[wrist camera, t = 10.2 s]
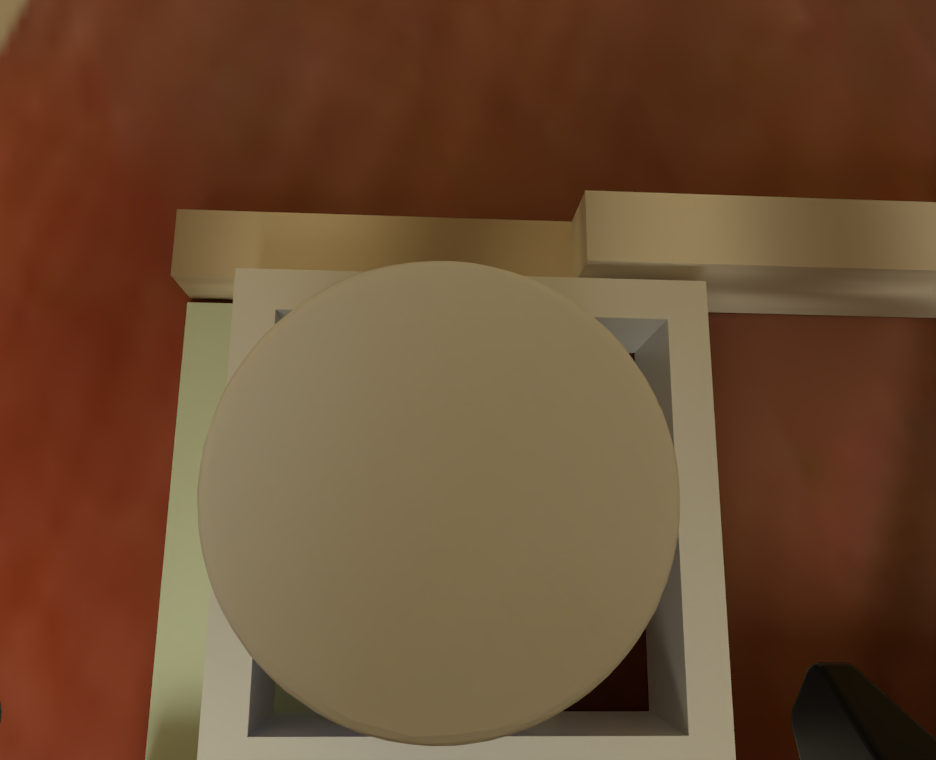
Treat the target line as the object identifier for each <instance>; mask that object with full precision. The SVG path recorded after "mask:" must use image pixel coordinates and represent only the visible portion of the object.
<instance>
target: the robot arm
mask: <svg viewBox="0 0 936 760" xmlns="http://www.w3.org/2000/svg"><path fill="white" fill-rule="evenodd" d="M1 714H2V710H1V703H0V722H1ZM792 728H793V733H794V737H795V741H796V745H797V749H798V753H799V757H800V760H936V739H935V738H934V737H933V736H932V735H931V734H930V733H929V732H928V731H926V730H925V729H924V728H923V727H922V726H921V725H920V724H919V723H917V722H916V721H915V720H914V719H913V718H912V717H911V716H910V715H908V714H907V713H906V712H905V711H904V710H903V709H902V708H901V707H900V706H898V705H897V704H896V703H895V702H894V701H893V700H892V699H891V698H889V697H888V696H887V695H886V694H885V693H884V692H883V691H882V690H881V689H879V688H878V687H877V686H876V685H875V684H874V683H873V682H872V681H870V680H869V679H868V678H867V677H866V676H865V675H864V674H863V673H862V672H860V671H859V670H858V669H857V668H856V667H854V666H852V665H851V664H848V663H843V662H816V663H814V664H812V665H811V666H810V667H809V668H808V670H807V673H806V675H805V678H804V680H803V683H802V685H801V688H800V691H799V693H798V696H797V698H796V701H795V703H794V706H793V710H792Z"/></svg>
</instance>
